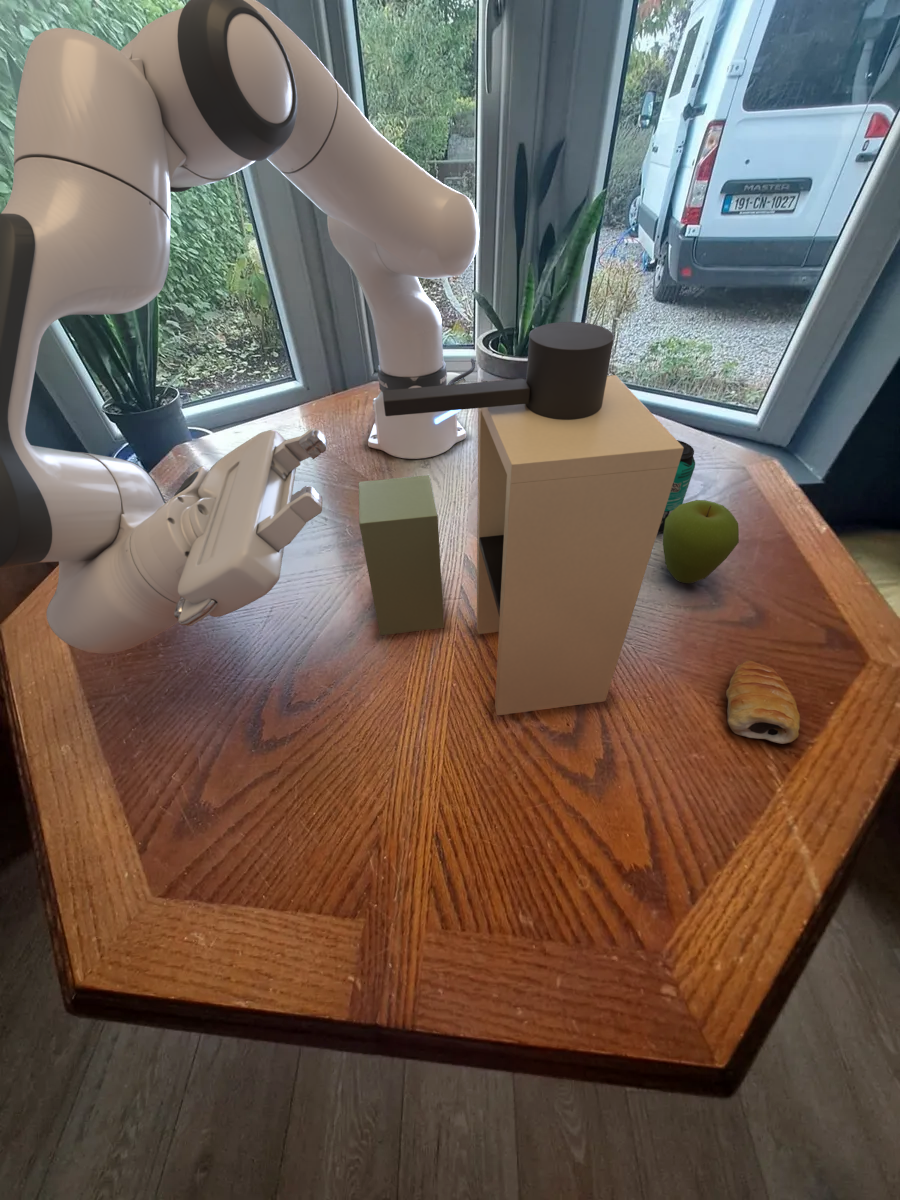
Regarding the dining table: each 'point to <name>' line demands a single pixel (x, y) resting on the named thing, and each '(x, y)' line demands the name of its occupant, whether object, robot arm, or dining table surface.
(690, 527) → the apple
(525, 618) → the tall cream box
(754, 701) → the pastry
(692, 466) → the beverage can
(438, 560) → the rectangular block
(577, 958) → the dining table surface
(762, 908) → the dining table surface
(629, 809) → the dining table surface
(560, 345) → the measuring cup
